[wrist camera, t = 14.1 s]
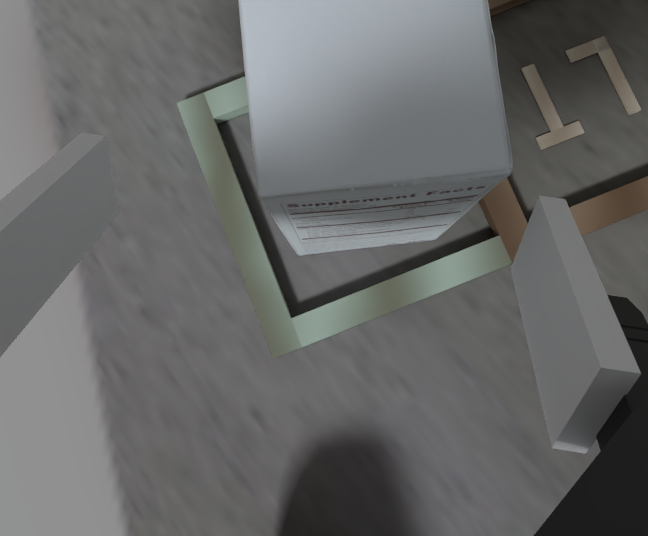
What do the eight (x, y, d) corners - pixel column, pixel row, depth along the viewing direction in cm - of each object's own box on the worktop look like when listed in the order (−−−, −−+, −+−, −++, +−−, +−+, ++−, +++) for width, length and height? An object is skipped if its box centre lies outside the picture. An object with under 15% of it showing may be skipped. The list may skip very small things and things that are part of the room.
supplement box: (281, 121, 28) (230, -49, 15) (422, 106, 28) (487, -79, 15) (293, 259, 27) (250, 199, 14) (439, 245, 27) (523, 172, 14)
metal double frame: (642, -73, 28) (650, -84, 27) (764, 162, 27) (777, 157, 26) (181, 109, 28) (176, 103, 27) (275, 357, 26) (273, 358, 26)
